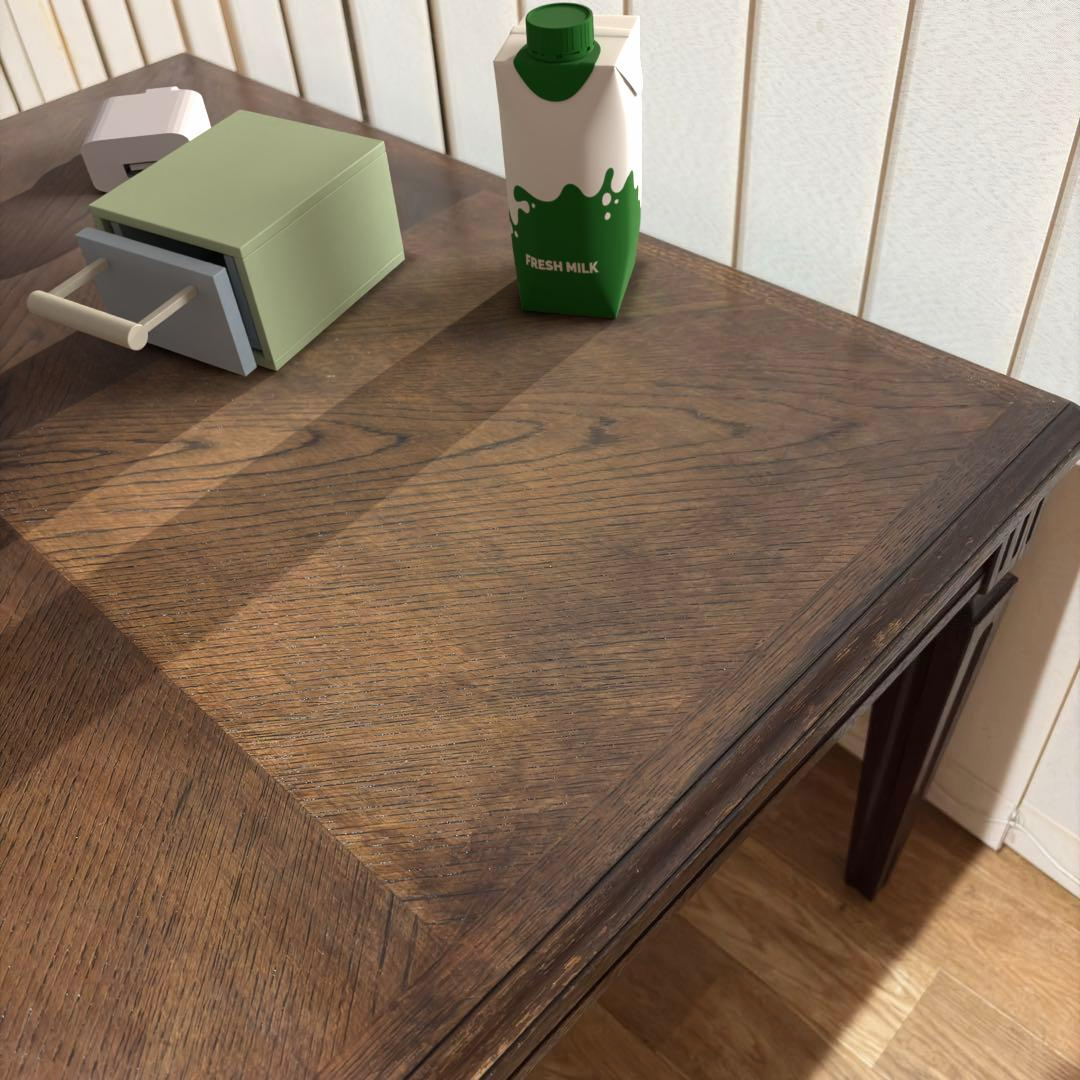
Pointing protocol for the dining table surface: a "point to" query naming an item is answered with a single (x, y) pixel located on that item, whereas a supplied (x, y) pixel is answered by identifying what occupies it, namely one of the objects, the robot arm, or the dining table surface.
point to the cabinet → (274, 218)
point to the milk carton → (572, 156)
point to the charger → (140, 132)
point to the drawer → (158, 298)
